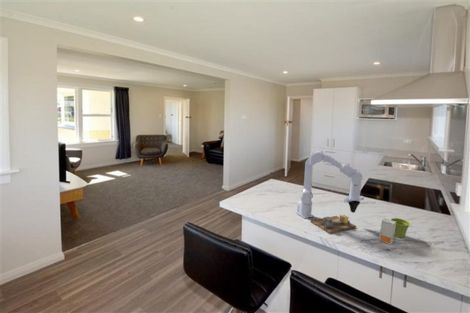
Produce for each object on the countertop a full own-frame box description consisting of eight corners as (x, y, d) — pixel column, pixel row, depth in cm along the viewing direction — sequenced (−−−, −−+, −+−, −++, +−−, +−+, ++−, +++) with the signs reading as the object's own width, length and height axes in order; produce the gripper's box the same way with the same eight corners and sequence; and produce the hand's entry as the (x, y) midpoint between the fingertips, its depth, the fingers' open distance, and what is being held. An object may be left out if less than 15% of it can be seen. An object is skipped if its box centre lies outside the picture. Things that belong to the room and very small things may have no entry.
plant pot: (407, 234, 149) (409, 220, 148) (408, 241, 141) (410, 226, 140) (388, 230, 154) (390, 216, 152) (388, 236, 146) (390, 222, 144)
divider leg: (337, 221, 161) (338, 214, 160) (341, 220, 162) (341, 213, 161) (344, 224, 156) (344, 217, 155) (347, 224, 157) (348, 217, 156)
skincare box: (378, 240, 141) (381, 220, 139) (381, 238, 144) (383, 217, 142) (391, 244, 137) (394, 223, 135) (393, 242, 140) (396, 221, 138)
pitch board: (310, 222, 162) (311, 212, 161) (336, 217, 170) (337, 207, 169) (329, 233, 148) (330, 222, 146) (356, 227, 156) (357, 217, 155)
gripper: (351, 194, 151) (349, 216, 153) (369, 191, 156) (366, 212, 159) (342, 190, 157) (340, 211, 159) (359, 188, 163) (357, 208, 165)
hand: (352, 212), depth 159 cm, fingers closed
